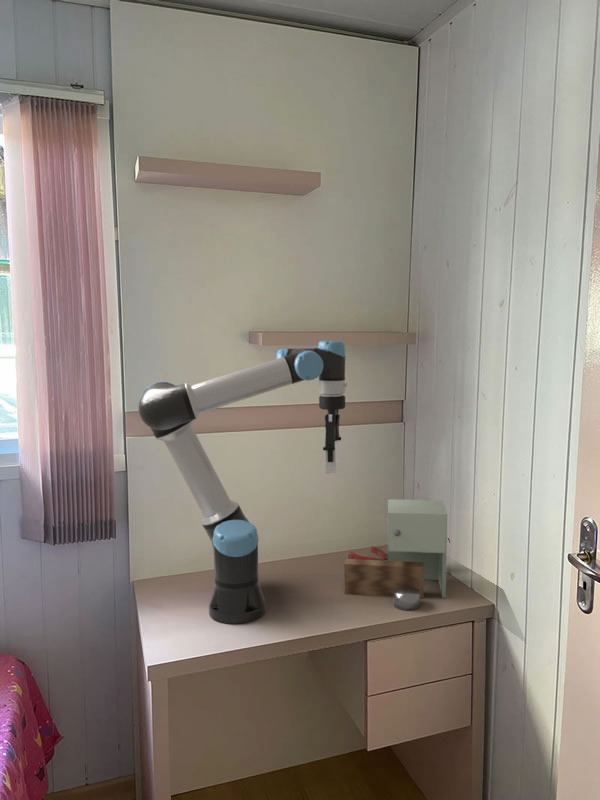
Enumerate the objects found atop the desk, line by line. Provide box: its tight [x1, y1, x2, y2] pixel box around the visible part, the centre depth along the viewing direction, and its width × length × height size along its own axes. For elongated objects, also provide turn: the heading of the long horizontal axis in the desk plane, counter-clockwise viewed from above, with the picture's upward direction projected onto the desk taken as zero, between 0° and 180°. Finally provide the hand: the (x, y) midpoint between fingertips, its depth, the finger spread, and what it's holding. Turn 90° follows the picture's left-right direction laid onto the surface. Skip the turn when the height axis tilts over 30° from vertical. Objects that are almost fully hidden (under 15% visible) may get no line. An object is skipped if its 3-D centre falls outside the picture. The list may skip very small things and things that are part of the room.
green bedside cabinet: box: [387, 498, 448, 599], centre depth 186 cm, size 16×16×24 cm
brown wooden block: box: [343, 558, 425, 599], centre depth 183 cm, size 22×4×9 cm, turn 81°
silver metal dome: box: [393, 586, 421, 612], centre depth 176 cm, size 7×7×4 cm
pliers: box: [348, 546, 388, 561], centre depth 206 cm, size 11×20×3 cm, turn 32°
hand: (332, 467), depth 188 cm, fingers open, 13 cm apart
